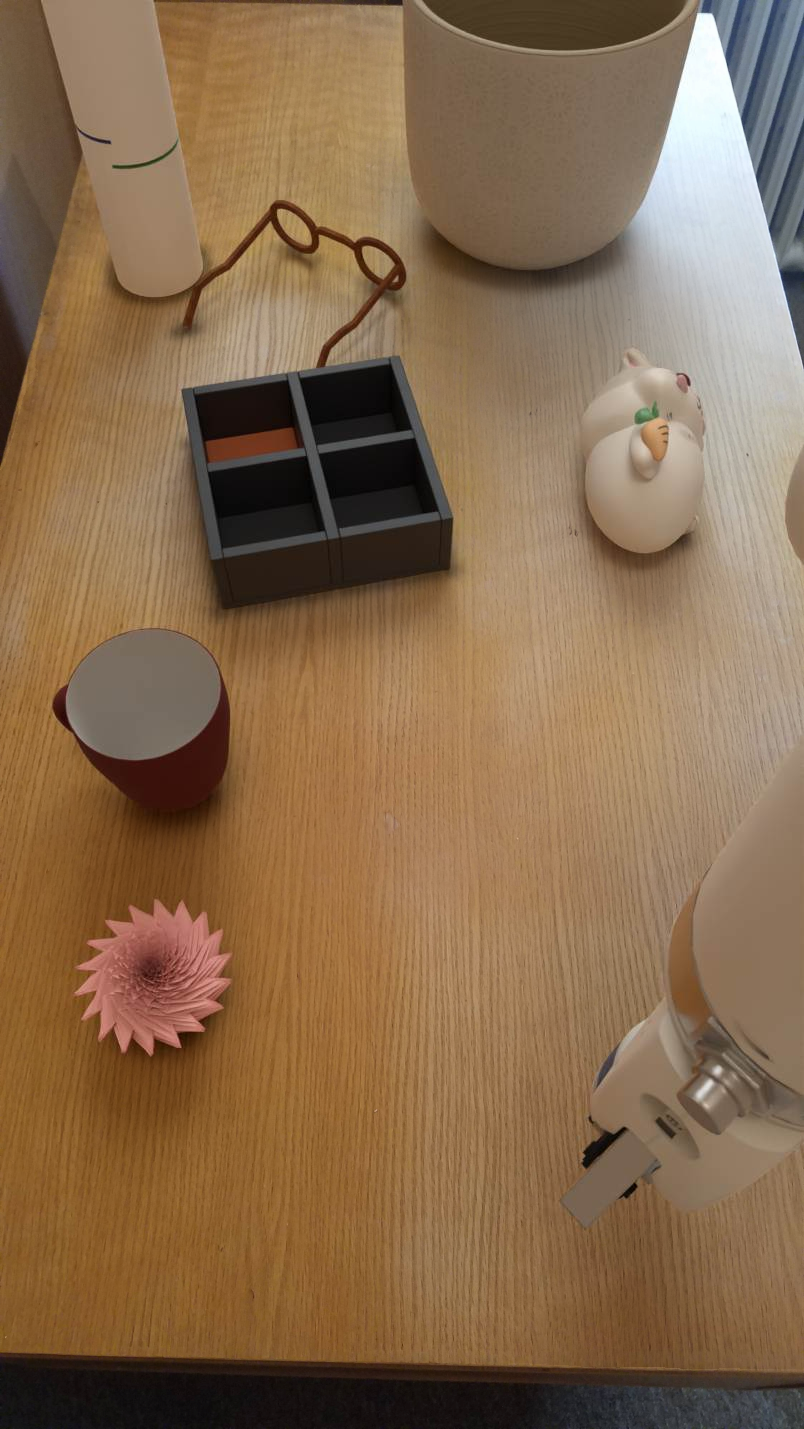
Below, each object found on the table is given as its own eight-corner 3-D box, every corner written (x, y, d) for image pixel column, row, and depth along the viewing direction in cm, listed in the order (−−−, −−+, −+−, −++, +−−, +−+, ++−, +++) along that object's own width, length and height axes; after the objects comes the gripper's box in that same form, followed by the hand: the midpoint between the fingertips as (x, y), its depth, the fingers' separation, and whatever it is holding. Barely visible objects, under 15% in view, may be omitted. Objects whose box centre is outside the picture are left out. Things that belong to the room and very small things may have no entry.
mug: (51, 820, 59) (-9, 737, 50) (99, 703, 63) (52, 607, 54) (226, 854, 58) (195, 775, 49) (264, 734, 62) (242, 641, 53)
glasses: (409, 299, 82) (409, 243, 78) (314, 393, 77) (309, 339, 72) (279, 242, 86) (272, 186, 82) (179, 328, 80) (167, 273, 76)
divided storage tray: (399, 409, 76) (399, 354, 72) (450, 568, 68) (453, 518, 64) (193, 442, 74) (181, 388, 70) (222, 609, 67) (210, 560, 62)
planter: (633, 155, 92) (683, -94, 76) (657, 307, 82) (722, 57, 65) (404, 152, 93) (405, -97, 76) (399, 303, 82) (399, 52, 66)
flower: (118, 1098, 51) (89, 1077, 47) (73, 957, 55) (42, 924, 50) (265, 1029, 53) (251, 1002, 48) (212, 897, 57) (194, 859, 52)
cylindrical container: (142, 233, 86) (56, -124, 65) (218, 253, 85) (156, -105, 64) (100, 284, 83) (-5, -75, 62) (178, 305, 82) (98, -54, 60)
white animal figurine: (687, 486, 60) (670, 294, 66) (560, 523, 64) (554, 339, 70) (731, 563, 67) (712, 385, 73) (614, 592, 71) (605, 420, 77)
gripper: (728, 1361, 22) (600, 1330, 38) (1118, 860, 28) (866, 1013, 44) (486, 1098, 25) (460, 1171, 41) (885, 690, 31) (727, 892, 47)
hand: (671, 1088), depth 42 cm, fingers closed on pill bottle, 5 cm apart
